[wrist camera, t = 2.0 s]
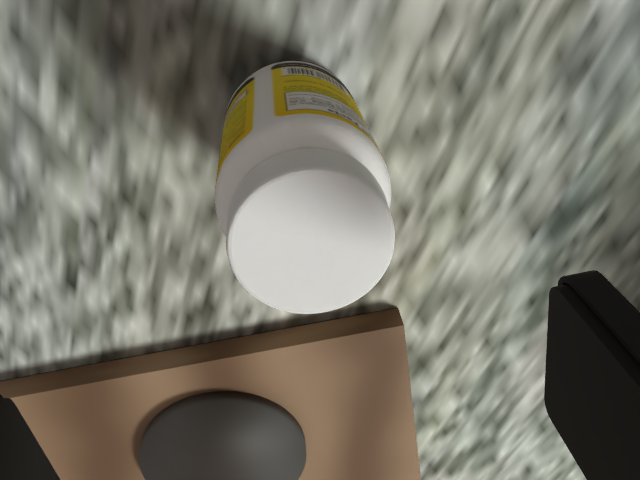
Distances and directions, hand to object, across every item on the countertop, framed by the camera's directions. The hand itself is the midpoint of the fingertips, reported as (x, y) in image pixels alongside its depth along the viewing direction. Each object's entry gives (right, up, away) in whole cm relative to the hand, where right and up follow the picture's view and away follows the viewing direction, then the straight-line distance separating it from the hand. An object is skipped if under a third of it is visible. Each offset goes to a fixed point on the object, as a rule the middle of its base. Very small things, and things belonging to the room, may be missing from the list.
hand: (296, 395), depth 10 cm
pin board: (-3, -11, +21) cm, 24 cm away
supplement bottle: (-1, +7, +11) cm, 13 cm away
